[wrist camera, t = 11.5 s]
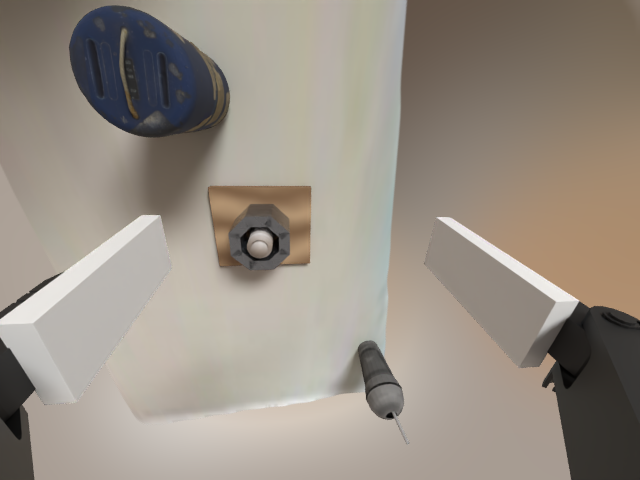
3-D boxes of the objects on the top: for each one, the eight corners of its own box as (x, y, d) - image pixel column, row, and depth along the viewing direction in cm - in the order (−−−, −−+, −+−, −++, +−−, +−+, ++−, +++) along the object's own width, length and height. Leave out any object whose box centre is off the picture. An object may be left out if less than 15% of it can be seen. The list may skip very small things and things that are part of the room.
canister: (240, 71, 36) (202, 34, 20) (222, 140, 39) (177, 157, 23) (165, 36, 33) (50, -40, 17) (153, 112, 37) (48, 109, 20)
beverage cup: (357, 334, 59) (388, 430, 41) (386, 337, 61) (429, 430, 43) (348, 358, 62) (374, 456, 44) (377, 359, 63) (413, 456, 45)
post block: (210, 186, 42) (191, 203, 33) (310, 186, 44) (316, 202, 35) (221, 262, 48) (207, 293, 39) (309, 259, 49) (313, 288, 41)
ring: (233, 203, 42) (226, 216, 37) (289, 203, 43) (289, 216, 38) (239, 252, 46) (232, 270, 40) (289, 251, 47) (290, 268, 42)
